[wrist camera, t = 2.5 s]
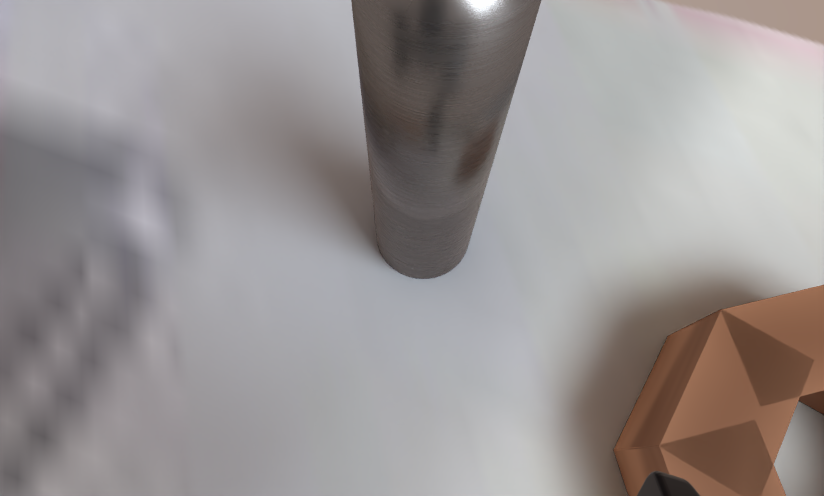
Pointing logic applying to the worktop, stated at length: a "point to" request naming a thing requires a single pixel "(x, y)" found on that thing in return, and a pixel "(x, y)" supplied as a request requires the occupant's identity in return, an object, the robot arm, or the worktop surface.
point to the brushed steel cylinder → (435, 117)
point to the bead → (728, 397)
